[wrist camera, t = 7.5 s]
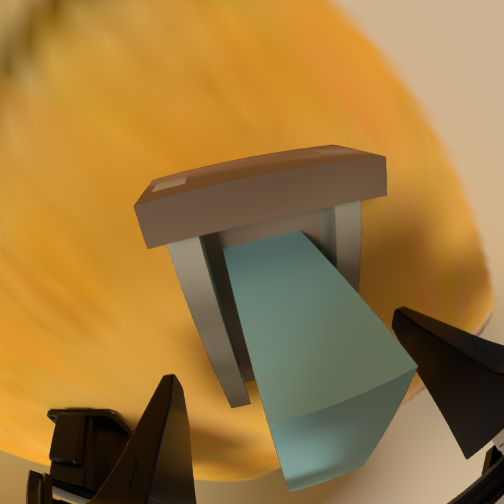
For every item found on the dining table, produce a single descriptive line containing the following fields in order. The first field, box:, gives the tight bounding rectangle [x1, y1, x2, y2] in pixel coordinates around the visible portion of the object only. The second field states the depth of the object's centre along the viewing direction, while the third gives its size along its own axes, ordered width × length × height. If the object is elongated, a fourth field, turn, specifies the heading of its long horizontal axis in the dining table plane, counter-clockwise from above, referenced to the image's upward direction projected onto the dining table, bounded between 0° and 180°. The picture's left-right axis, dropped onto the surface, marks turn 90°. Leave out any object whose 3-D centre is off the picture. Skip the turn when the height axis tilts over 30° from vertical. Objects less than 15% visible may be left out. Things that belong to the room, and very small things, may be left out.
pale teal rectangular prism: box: [223, 231, 418, 492], centre depth 9 cm, size 7×3×7 cm, turn 9°
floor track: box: [134, 145, 387, 408], centre depth 11 cm, size 11×7×3 cm, turn 10°
